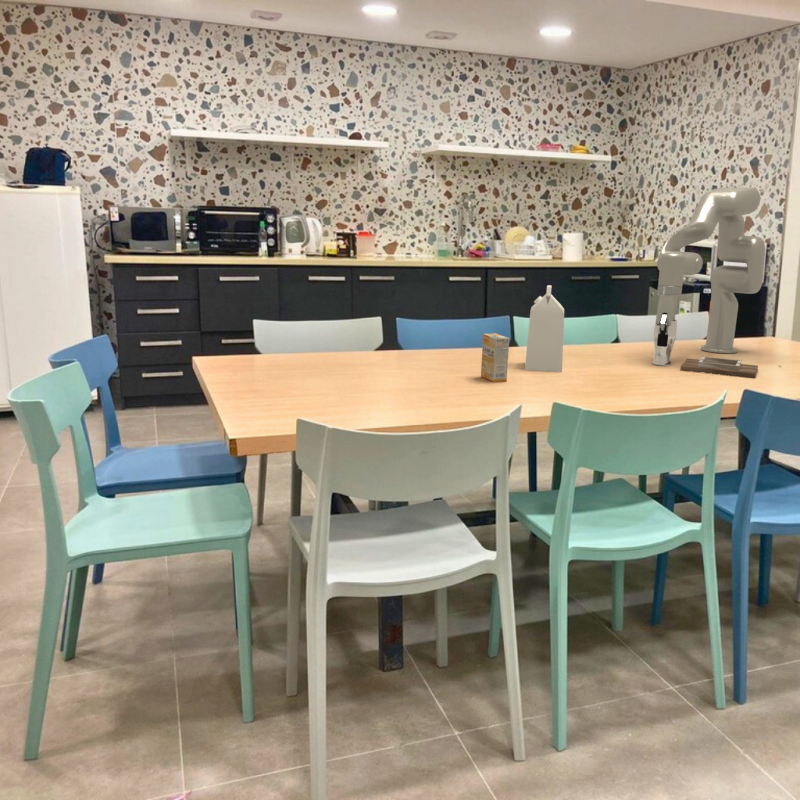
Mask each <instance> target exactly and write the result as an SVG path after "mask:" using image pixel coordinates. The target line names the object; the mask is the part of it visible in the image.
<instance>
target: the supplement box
mask: <svg viewBox="0 0 800 800" xmlns="http://www.w3.org/2000/svg"><path fill="white" fill-rule="evenodd" d="M509 345H510V337H507V336H504V335H501V334H498V333H496V332H495V333H483V334H482V346H481V348H482V351H481V366H480V377H481V378H484V379H485V380H488V381H491V382H492V383H503V382H505V383H506V382H507V379H508V368H509V367H508V364H509V350H510V346H509Z"/></svg>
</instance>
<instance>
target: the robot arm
mask: <svg viewBox="0 0 800 800" xmlns="http://www.w3.org/2000/svg"><path fill="white" fill-rule="evenodd" d="M760 202H761V195H760V192H759V190H758V189H757V188H755V187H718V188H714V189H711V190H708V191H707V192H705V193H703V194H702V196H701V197H700V199H699V201H698V203H697V205H696V207H695V210H694V211H693V214H692V216H691V218H690V219H689V223H688V224H687V225H685V226H683V227H682V228H680V229H678V230H677V231H676V232H674V233H673V234H672V235H671V236H669V238H668V239H666V241H665V242H664V244H663V246H662V247H661V250H660V251H659V252H660V253H659V255H658V257H657V260H656V261H657V262H656V266H657V269H658V271H659V273H658V274H659V275H658V285H657V291H656V292H657V293H656V294H657V296H659V298H658V304H657V308H656V309H657V311H656V315H655V316H656V317H655V324H656V325H657V324H660V327H659V333H658V339H657V346H662V347H667V343H668V335H667V334H668V328H669V326H671V324H672V321H674V320H676V312H677V305H678V297H682V291H683V283H684V276H694V275H697V274H698V273H700V271H701V270H702V269H703V264H704V263H703V262H704V261H703V258H702V256H701V255H700V254H699V253H696V252H691V251H681V250H682V249H683V248H684V247H687V246H689V245H693V244H695V243H698V242H701V241H704V240H706V239H709V238H710V237H711V236H712V235H713V233H714V230H715V229H716V227H717V225H718V235H717V248H716V249H717V250H716V251H717V252H716V253H717V258H718V259H719V260H720V261H721V262H726V263H736V264H737V263H740V264H745V265H746V266H741V265H731V264H730V265H728V264H727V265H719V266H717V267H714V269H713V270H712V272H711V275H710V286H711V291H710V293H711V295H710V296H711V297H710V305H709V306H710V307H709V314H708V322H707V323H708V324H707V330H706V332H707V333H706V338H705V339H706V340H705V344H704V345H701V346H700V350H701V351H704V352H709V353H715V354H735V353H737V352H738V349H737V348H736V347H734V342H735V341H734V340H735V336H736V335H735V333H736V325H737V319H738V312H739V302H738V298H737V297H736V295H735V293H736V294H749V295H751V294H752V295H753V294H757V293H758V292H759V291H760V290H761V288H762V285H763V280H764V269H765V260H766V259H765V258H766V245H765V242H764V239H763V238H761V236H755V235H745V219H744V216H746V215H749V214H752V213H754V212H755V211H757V209H758V207H759V205H760ZM665 323H668V325H665ZM655 324H654V325H655ZM666 327H667V328H666Z"/></svg>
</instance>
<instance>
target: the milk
mask: <svg viewBox="0 0 800 800" xmlns="http://www.w3.org/2000/svg"><path fill="white" fill-rule="evenodd" d="M533 303H534V304H533V305H532V306H531V308H530V313H529V322H528V334H527V341H526V342H527V343H526V352H525V354H526V355H525V365H524V370H525V371H539V372H551V373H552V372H554V373H563V356H564V355H563V354H564V353H563V351H564V330H565V329H564V328H565V308H564V307H563V305H562V304H561V303H560V302H559V301H558V300H557V299H556V297H554V295H553V294H552V285H550V284H549V285H547V286H546V293H545V294H544V295H543V296H541V295H539V296H538V297H537V298H536V299H535V300H534V301H533Z"/></svg>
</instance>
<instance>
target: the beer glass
mask: <svg viewBox="0 0 800 800" xmlns="http://www.w3.org/2000/svg"><path fill="white" fill-rule="evenodd" d="M677 323H678V320H677V319H675V320H674V321H672V324H671V326H669V328H668V334H667V335H668V343H667V347H662V346H657V339H658V333H659V327H660V324H657V325H656V324H654V331H653V344H654V355H653V359H652V365H655V366H659V367H660V366H661V367H663V366H664V367H668V366H669V367H670V366H671V365H672V351H673V347H674V345H675V340H676V335H677V326H678V325H677ZM665 325H668V323H665ZM666 328H667V327H666Z"/></svg>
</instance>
